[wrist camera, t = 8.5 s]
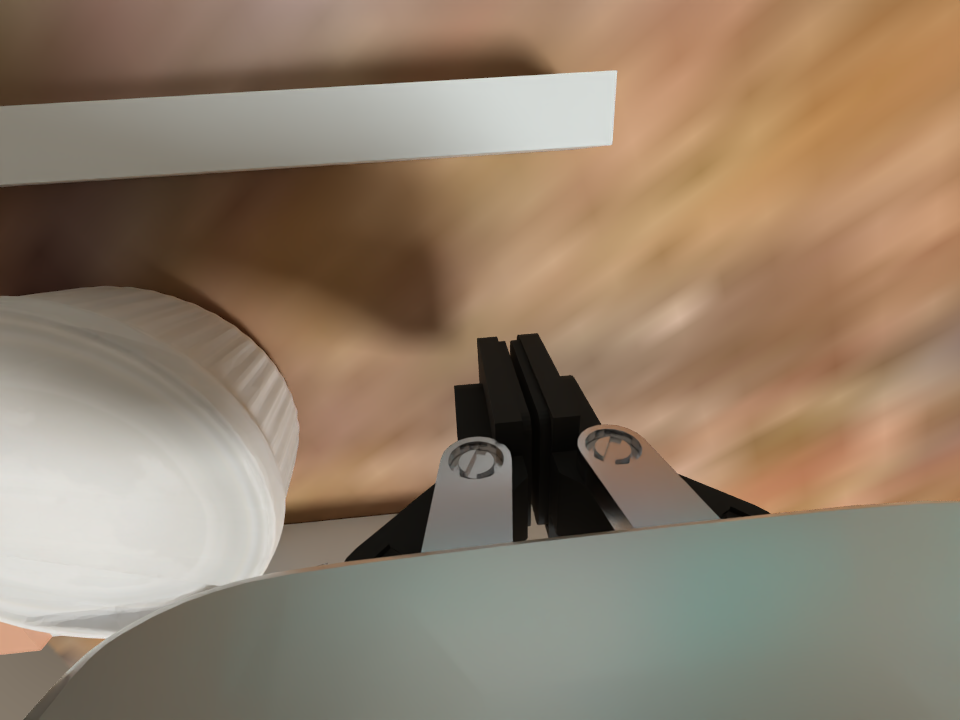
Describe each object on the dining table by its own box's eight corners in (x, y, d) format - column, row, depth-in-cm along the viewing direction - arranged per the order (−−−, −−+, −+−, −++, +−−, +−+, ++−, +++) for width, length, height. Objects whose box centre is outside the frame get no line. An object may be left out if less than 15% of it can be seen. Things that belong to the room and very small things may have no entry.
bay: (-224, 139, 11) (-486, 129, 8) (579, 91, 12) (625, 65, 9) (75, 571, 18) (-2, 654, 15) (563, 521, 19) (586, 590, 16)
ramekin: (123, 543, 18) (8, 677, 13) (-88, 307, 13) (-380, 386, 9) (367, 482, 18) (338, 598, 13) (240, 216, 13) (120, 246, 8)
